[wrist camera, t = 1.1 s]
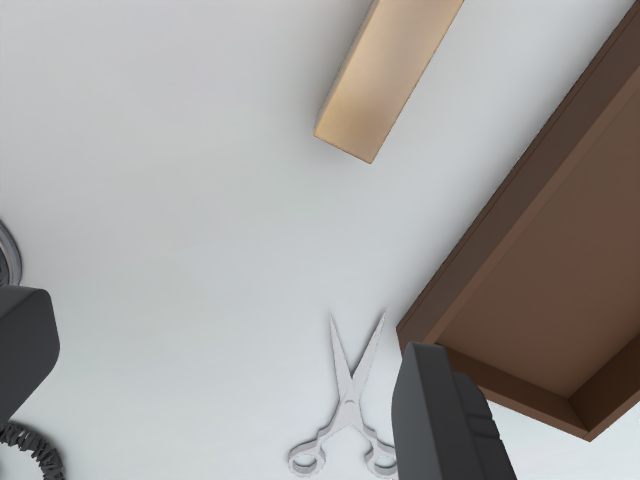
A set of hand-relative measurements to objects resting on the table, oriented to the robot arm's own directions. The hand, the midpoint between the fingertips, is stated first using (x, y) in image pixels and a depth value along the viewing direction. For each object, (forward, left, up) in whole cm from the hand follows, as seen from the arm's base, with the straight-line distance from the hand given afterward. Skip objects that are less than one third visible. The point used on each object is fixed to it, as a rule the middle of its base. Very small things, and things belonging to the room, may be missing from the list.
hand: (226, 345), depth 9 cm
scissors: (+13, -17, -17) cm, 27 cm away
